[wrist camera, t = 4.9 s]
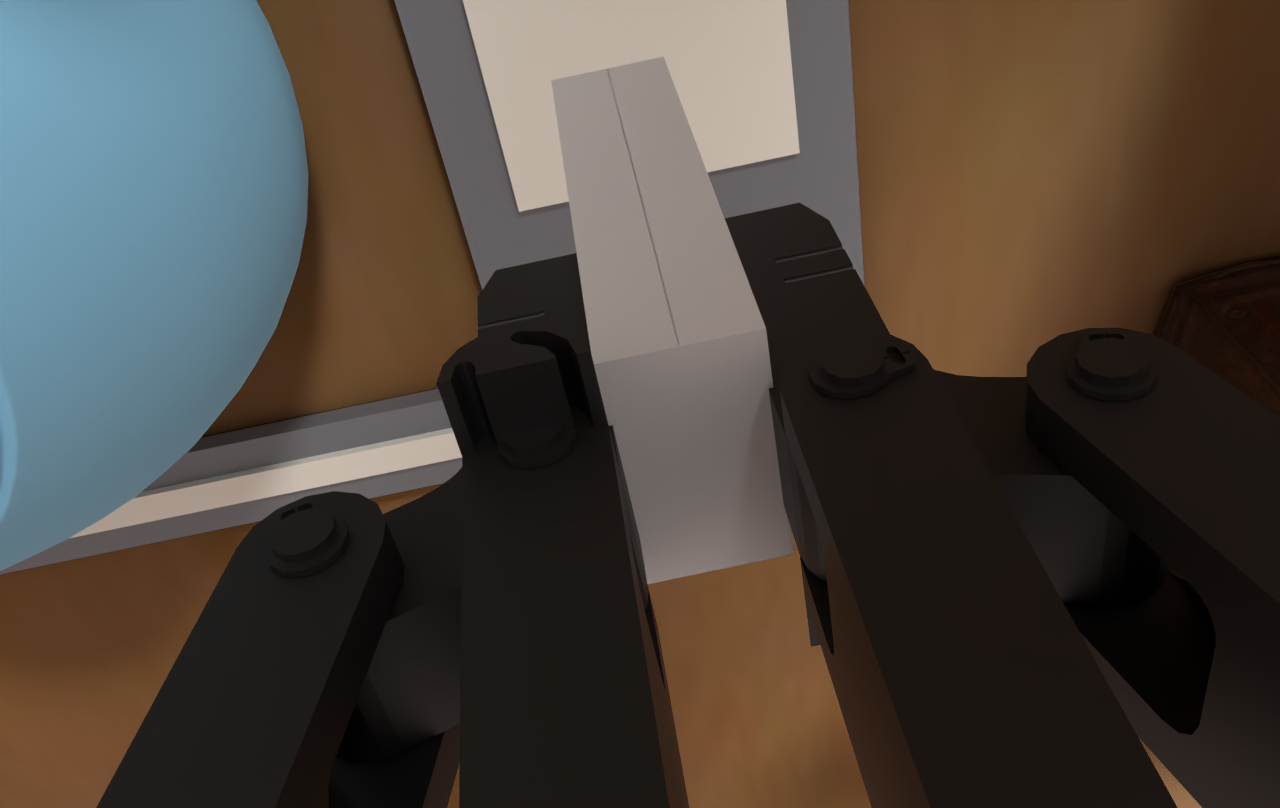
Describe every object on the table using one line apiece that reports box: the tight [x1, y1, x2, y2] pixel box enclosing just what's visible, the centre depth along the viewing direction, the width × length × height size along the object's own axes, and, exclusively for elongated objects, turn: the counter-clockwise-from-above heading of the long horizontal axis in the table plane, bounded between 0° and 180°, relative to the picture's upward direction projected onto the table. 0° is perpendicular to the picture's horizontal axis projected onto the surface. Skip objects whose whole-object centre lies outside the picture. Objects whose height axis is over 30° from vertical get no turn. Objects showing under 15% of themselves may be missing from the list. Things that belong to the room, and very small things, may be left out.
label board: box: [0, 0, 864, 575], centre depth 22 cm, size 23×26×1 cm
